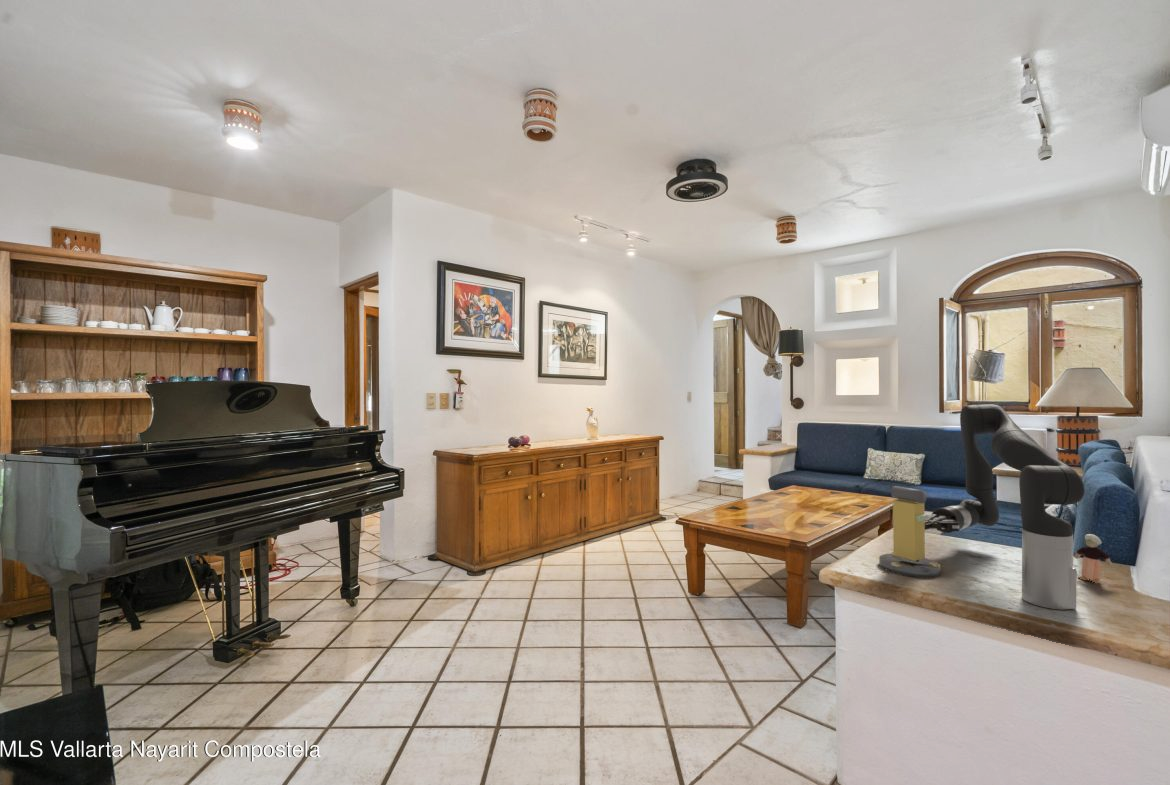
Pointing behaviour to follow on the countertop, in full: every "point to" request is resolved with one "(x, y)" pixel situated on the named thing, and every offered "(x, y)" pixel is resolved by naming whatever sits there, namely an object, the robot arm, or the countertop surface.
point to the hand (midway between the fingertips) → (920, 526)
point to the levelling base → (910, 566)
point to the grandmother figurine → (1092, 559)
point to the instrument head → (909, 523)
